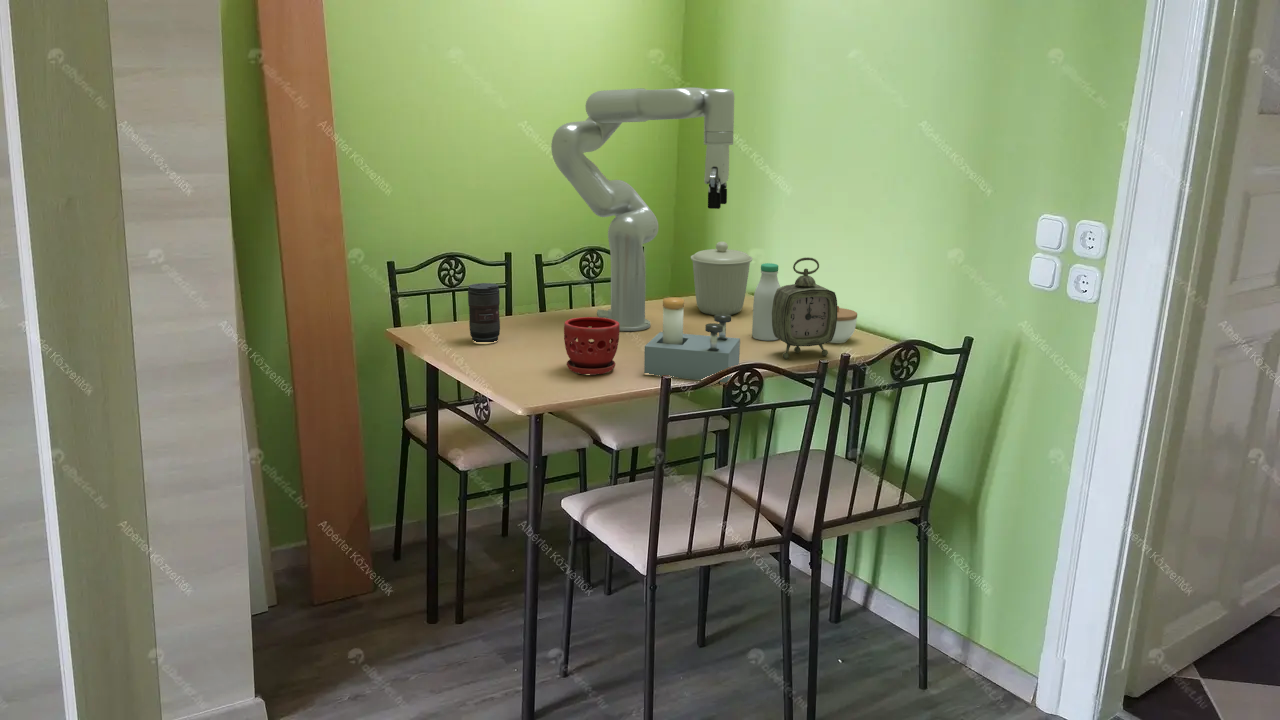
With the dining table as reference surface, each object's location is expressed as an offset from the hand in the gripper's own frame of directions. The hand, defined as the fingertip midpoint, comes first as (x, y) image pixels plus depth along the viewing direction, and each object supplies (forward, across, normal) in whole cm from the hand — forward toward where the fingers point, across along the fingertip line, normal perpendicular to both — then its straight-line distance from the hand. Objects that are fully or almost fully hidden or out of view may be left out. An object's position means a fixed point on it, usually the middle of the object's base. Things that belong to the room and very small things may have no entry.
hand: (717, 206), depth 259 cm
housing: (+35, +32, 0) cm, 48 cm away
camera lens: (+35, +21, -58) cm, 70 cm away
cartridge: (+32, +32, -5) cm, 45 cm away
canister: (+35, -29, -4) cm, 46 cm away
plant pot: (+35, +38, -23) cm, 57 cm away
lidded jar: (+36, -6, +31) cm, 48 cm away
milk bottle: (+36, -4, +13) cm, 38 cm away
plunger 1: (+30, +37, +6) cm, 48 cm away
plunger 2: (+30, +27, +6) cm, 41 cm away
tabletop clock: (+36, +11, +24) cm, 44 cm away
